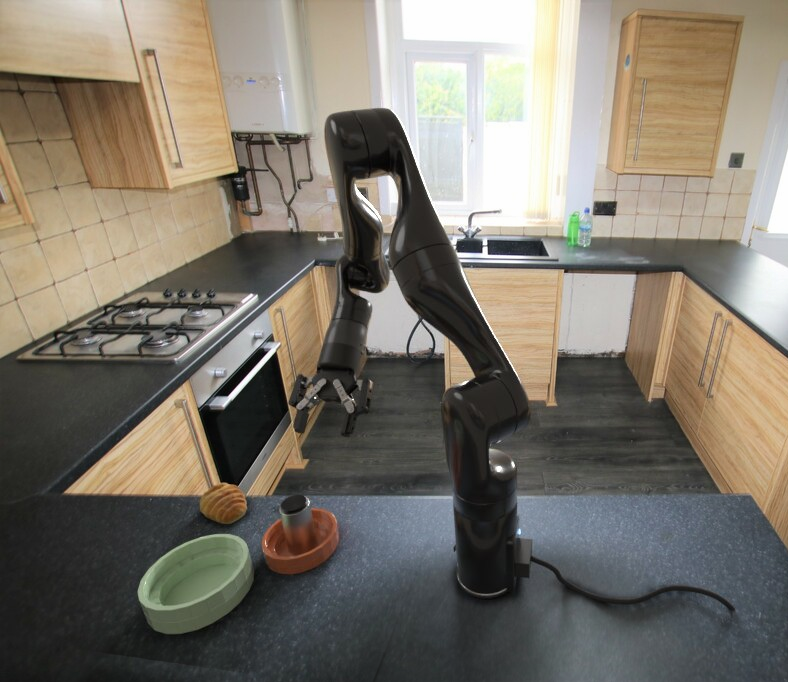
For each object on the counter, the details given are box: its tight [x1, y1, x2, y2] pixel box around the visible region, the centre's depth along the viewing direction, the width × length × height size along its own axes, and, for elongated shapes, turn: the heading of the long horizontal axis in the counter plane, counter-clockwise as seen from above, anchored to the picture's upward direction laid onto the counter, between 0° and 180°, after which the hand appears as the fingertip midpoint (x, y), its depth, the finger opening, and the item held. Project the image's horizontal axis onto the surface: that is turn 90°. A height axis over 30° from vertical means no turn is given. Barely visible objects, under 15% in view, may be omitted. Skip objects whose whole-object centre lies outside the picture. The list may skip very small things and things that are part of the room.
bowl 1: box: [137, 533, 255, 635], centre depth 69 cm, size 13×14×5 cm
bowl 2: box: [261, 507, 340, 576], centre depth 77 cm, size 11×11×4 cm
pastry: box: [198, 482, 248, 525], centre depth 85 cm, size 9×7×4 cm
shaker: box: [278, 493, 317, 556], centre depth 76 cm, size 4×4×9 cm
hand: (322, 434), depth 82 cm, fingers open, 8 cm apart
